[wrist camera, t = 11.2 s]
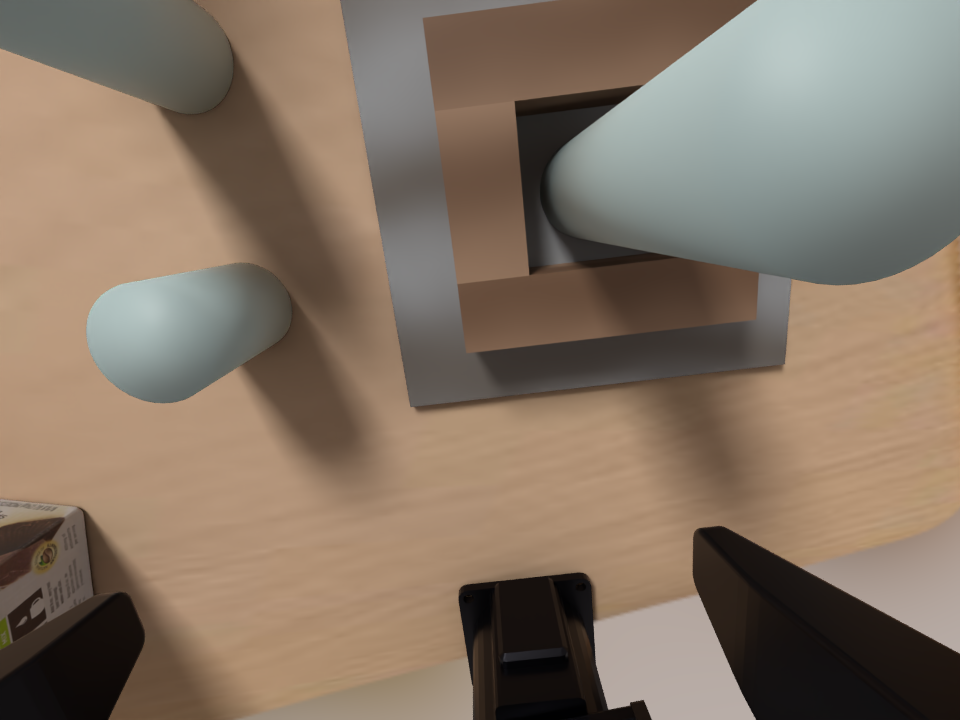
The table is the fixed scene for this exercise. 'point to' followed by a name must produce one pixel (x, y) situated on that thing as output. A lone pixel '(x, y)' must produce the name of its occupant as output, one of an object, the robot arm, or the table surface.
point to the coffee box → (40, 565)
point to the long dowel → (783, 146)
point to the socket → (532, 200)
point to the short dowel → (186, 329)
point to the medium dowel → (127, 47)
